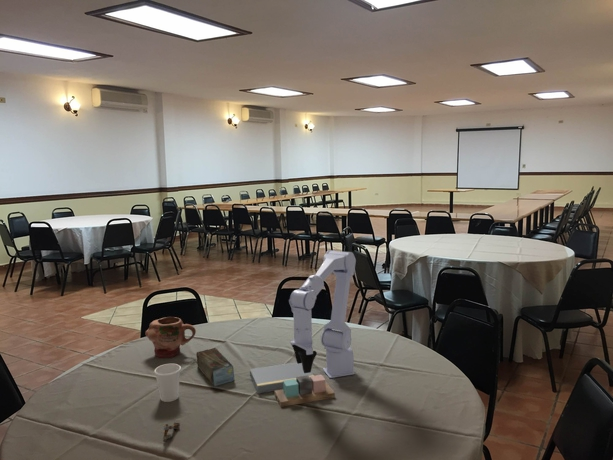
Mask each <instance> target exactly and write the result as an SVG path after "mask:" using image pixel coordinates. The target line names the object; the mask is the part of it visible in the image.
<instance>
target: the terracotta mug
mask: <svg viewBox="0 0 613 460" xmlns="http://www.w3.org/2000/svg"><path fill="white" fill-rule="evenodd" d="M186 330H189V331H191V333H192V334H191V336H190V337H188V338H186ZM196 331H197V330H196V328H195V327H194V325H192V324H189V323H185V324H184V322H183V320H182V319H181V318H179V317H175V316H167V317H162V318H159V319H155V320H153V321H152V322H150V323H149V326H148V329H147V330H145V332H144V333H145V336H146V337H147V338H148V340H149V341H150V342H151V343H152V344H153V347H154V355H155V356H156V357H157V358H162V359H163V358H166V359H167V358H173V357H176V356H178V355H179V353H180V352H181V347H180V346H184V345H186V344H188V343H189V342H190V341H191V340H192V339H193V338H194V337H195V336H196Z"/></svg>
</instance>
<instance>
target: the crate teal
mask: <svg viewBox="0 0 613 460" xmlns="http://www.w3.org/2000/svg"><path fill="white" fill-rule="evenodd" d="M283 392H284V394H285V396H286V398H289V397H295V396H299V391H298V383H297V381H296V380H295V379H290V380H284V381H283Z"/></svg>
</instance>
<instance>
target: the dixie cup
mask: <svg viewBox="0 0 613 460" xmlns="http://www.w3.org/2000/svg"><path fill="white" fill-rule="evenodd" d="M181 369H182V366H181V365H179V364H177V363H165V364H161V365H159V366H157V367H156V368H154V374H155V378H156V382H157V387H158V392H159V397H160V400H161V401H162V402H165V403H170V402H174V401H176V400H177V399H179V394H180V378H181Z"/></svg>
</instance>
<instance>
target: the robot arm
mask: <svg viewBox="0 0 613 460" xmlns="http://www.w3.org/2000/svg"><path fill="white" fill-rule="evenodd" d="M322 261H323V262H322V264H321V265H320V267H318V270H317V272H316V273H315V274H311V275H309V276H308V278H307V279H306V280H305V281H304V282H303V284H301V286H300V287H299V289H295V290H293V291H292V292H291V294H290V296H289V299H288V303H289V305H290V308H291V312H292V313H293V314H292V315H293V340H290V344H291V347H292V349H293V352H294V355H295V361H296V362H297V363H298V364H299V363H302V367H303V371H304V373H310V372H312V368H313V364H314V361H315V358H316V357H317V354H318V352H317V351H316V350H314V348H313V344H314V341H313V331H312V330H313V329H312V328H313V327H312V324H313V323H312V322H313V321H312V309H313V308H314V306H315V303H316V300H317V296H318V295H319V293H320V292H321V291H322V289H324V286H325V283H324V282H325V280H326V279H328V277H329V276H330V275H331V274H332V273H333V274H334V276H335V277H336V278H335V279H336V281H335V285H334V295H333V300H332V301H333V302H332V308H331V315H330V321H328V322H326V324H324V325H323V329H322V332H321V335H320V343H321V344H322V346H323V347H324V350H325V353H326V354H325V356H326V359H325V361H326V364H325V366H326V367H323V368H322V370H323V372H324V373H325V375H327V377H328V378H329V379H332V378H340V377H345V376H351V375H355V371H354V369H355V367H354V365H355V364H354V363H355V362H354V361H355V360H354V359H355V358H354V353H353V349H352V347H351V345H352V329H351V327H349V325H348V324H347V323H346V317H347V310H348V309H347V308H348V301H349V293H350V288H351V281H352V277H353V276H354V275H355V269H356V264H357V263H356V262H357V259H356V257H355V254H354V253H353V252H352V251H341V250H340V251H339V250H332V249H328V250H327V251H326V252H325V254H324V255H323V260H322Z"/></svg>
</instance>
